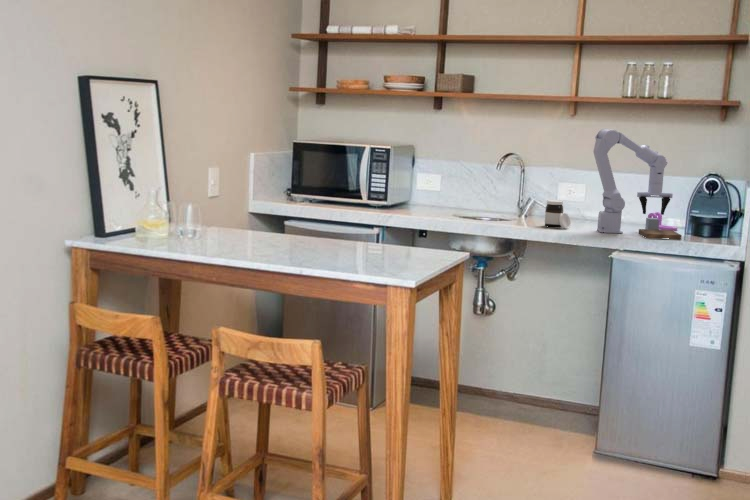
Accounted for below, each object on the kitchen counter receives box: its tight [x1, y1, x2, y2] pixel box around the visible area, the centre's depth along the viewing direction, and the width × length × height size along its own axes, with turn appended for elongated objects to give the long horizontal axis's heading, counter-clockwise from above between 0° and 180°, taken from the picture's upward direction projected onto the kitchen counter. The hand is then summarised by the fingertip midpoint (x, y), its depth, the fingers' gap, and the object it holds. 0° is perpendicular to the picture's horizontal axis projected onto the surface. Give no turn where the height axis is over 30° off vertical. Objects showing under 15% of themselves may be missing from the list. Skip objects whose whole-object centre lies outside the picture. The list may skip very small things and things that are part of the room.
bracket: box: [647, 211, 678, 232], centre depth 379 cm, size 13×6×7 cm, turn 40°
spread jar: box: [544, 199, 572, 230], centre depth 374 cm, size 12×11×12 cm
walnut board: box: [638, 228, 682, 240], centre depth 355 cm, size 14×14×2 cm
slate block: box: [644, 217, 660, 230], centre depth 368 cm, size 4×4×6 cm
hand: (653, 214), depth 367 cm, fingers open, 7 cm apart
